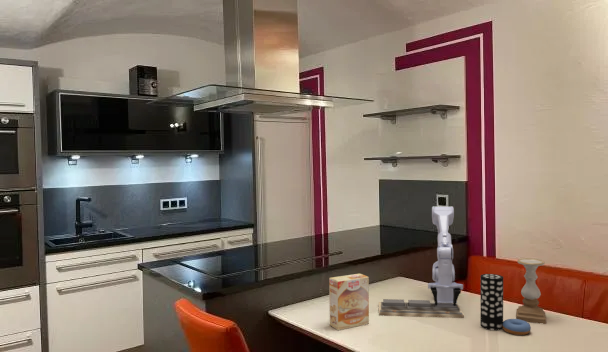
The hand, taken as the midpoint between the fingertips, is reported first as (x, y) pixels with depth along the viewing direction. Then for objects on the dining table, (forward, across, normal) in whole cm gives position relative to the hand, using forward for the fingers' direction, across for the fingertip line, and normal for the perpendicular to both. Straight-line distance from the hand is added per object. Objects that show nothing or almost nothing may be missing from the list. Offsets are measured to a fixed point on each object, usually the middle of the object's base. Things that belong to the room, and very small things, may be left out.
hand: (445, 305), depth 208 cm
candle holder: (+3, +34, -5) cm, 34 cm away
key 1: (0, -22, 0) cm, 22 cm away
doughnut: (+3, +23, -21) cm, 32 cm away
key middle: (0, -11, 0) cm, 11 cm away
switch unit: (+3, -11, 0) cm, 11 cm away
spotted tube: (+3, +15, -17) cm, 23 cm away
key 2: (+1, 0, 0) cm, 1 cm away
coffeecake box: (+3, -40, -20) cm, 45 cm away
